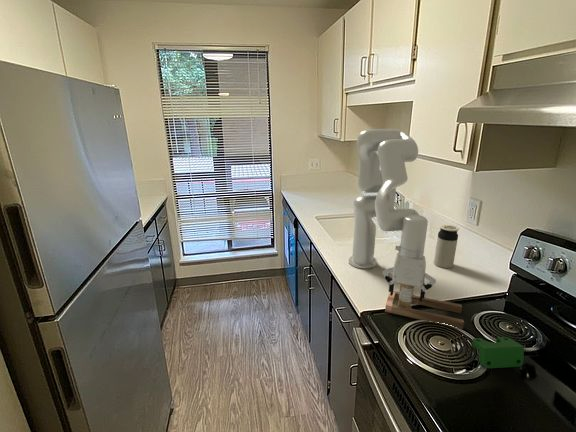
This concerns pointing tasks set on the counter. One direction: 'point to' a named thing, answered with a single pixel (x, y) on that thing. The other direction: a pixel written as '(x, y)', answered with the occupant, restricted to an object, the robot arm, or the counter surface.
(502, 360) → the green toy brick
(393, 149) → the robot arm
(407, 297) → the sprinkles bottle
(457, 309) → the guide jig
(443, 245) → the travel mug
